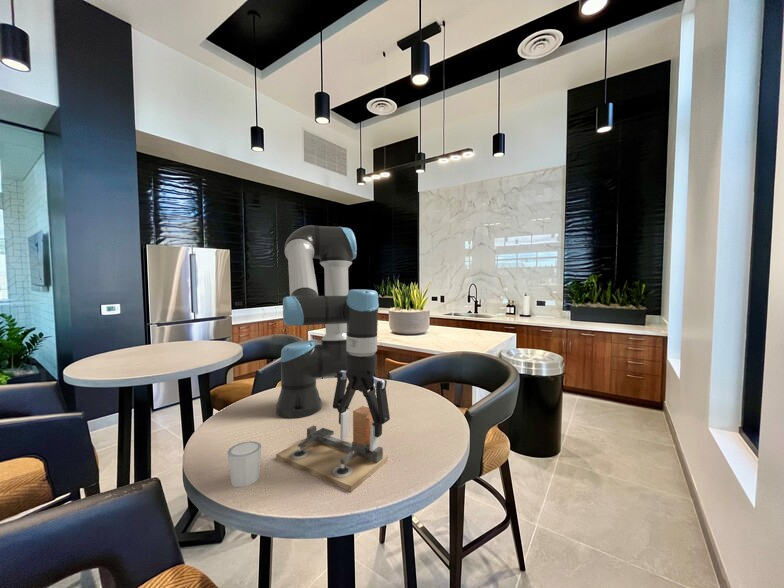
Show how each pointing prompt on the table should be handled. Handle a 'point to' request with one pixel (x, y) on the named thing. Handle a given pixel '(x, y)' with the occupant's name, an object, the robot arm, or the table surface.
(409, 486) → the table surface
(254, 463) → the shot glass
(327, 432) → the fixed leg
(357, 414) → the block
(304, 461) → the bolt plate
